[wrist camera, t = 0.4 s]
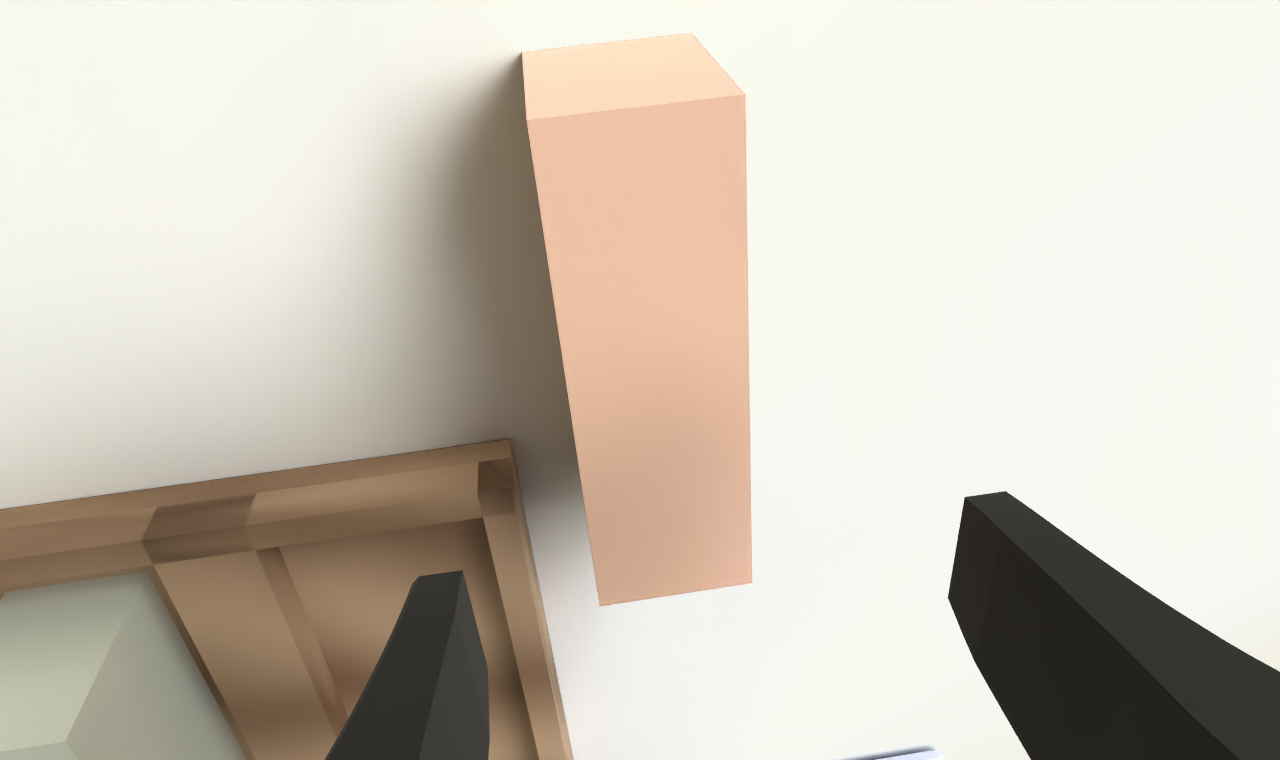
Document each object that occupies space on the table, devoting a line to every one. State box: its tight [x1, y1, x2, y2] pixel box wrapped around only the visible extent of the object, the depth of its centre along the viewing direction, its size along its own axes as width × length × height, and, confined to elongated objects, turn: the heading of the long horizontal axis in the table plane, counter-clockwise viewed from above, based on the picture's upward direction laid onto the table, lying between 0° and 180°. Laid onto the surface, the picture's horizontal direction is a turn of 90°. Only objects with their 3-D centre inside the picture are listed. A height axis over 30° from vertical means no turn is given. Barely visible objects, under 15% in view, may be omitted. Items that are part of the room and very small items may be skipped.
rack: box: [0, 439, 573, 760], centre depth 26 cm, size 15×15×2 cm
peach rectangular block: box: [522, 33, 752, 606], centre depth 19 cm, size 11×4×5 cm, turn 5°
